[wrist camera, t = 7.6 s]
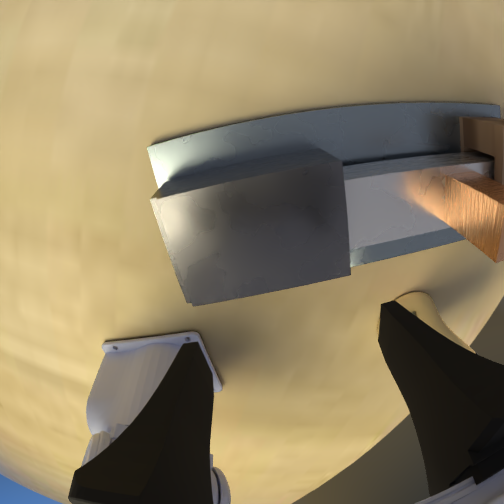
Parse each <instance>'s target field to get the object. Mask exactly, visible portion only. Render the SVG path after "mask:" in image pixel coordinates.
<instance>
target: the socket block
mask: <svg viewBox="0 0 504 504" xmlns="http://www.w3.org/2000/svg"><path fill="white" fill-rule="evenodd" d="M459 123H460V143H461V152H475V151H480V152H483V153H486V154H489V155H491V156H494V157H495V167H494V180H495V181H497V182H499V183H501V184H503V185H504V119H501V118H495V117H459Z"/></svg>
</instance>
